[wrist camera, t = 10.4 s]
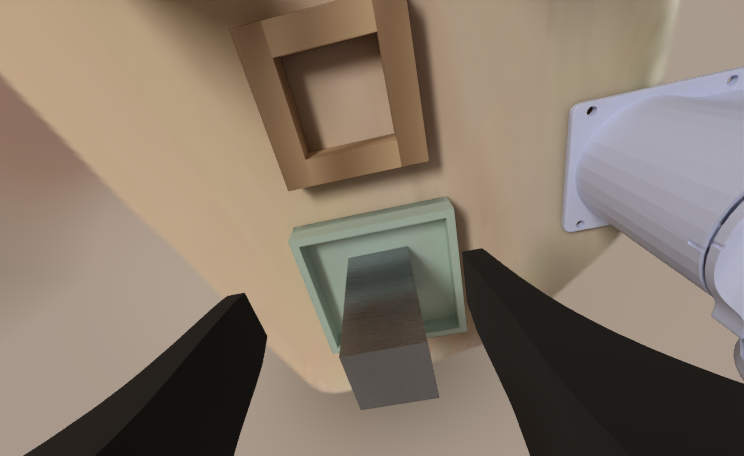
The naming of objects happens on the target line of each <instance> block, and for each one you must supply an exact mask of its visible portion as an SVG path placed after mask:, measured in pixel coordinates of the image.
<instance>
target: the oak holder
mask: <svg viewBox="0 0 744 456" xmlns="http://www.w3.org/2000/svg"><path fill="white" fill-rule="evenodd" d="M229 31H230V34H231V36H232V39H233V42H234V44H235V47H236V50H237V53H238V55H239V58H240V61H241V64H242V66H243V69H244V72H245V74H246V77H247V80H248V83H249V85H250V88H251V91H252V93H253V96H254V99H255V102H256V104H257V107H258V110H259V113H260V115H261V118H262V121H263V123H264V126H265V129H266V132H267V134H268V137H269V140H270V142H271V145H272V148H273V151H274V153H275V156H276V159H277V161H278V164H279V167H280V170H281V172H282V175H283V178H284V181H285V183H286V186H287V189H288V191H292V190H296V189H301V188H306V187H310V186H315V185H320V184H324V183H329V182H334V181H338V180H343V179H348V178H352V177H357V176H362V175H366V174H371V173H376V172H380V171H385V170H390V169H394V168H399V167H404V166H408V165H413V164H418V163H422V162H427V161H429V157H428V150H427V143H426V136H425V128H424V121H423V114H422V107H421V99H420V92H419V85H418V78H417V70H416V63H415V56H414V49H413V41H412V34H411V27H410V20H409V12H408V5H407V0H337V1H333V2H329V3H325V4H322V5H318V6H314V7H310V8H307V9H303V10H299V11H295V12H292V13H288V14H284V15H280V16H277V17H273V18H269V19H265V20H262V21H258V22H254V23H250V24H247V25H243V26H239V27H235V28H231V29H229ZM374 33H377V39H378V44H379V50H380V55H381V61H382V66H383V72H384V77H385V83H386V88H387V94H388V99H389V105H390V110H391V116H392V121H393V127H394V132H395V134H391V135H386V136H382V137H377V138H373V139H368V140H364V141H359V142H355V143H350V144H346V145H342V146H337V147H333V148H328V149H324V150H319V151H315V152H310V151H309V148H308V145H307V142H306V138H305V135H304V132H303V129H302V126H301V123H300V119H299V116H298V113H297V110H296V107H295V103H294V100H293V97H292V94H291V91H290V88H289V84H288V81H287V78H286V75H285V72H284V68H283V65H282V62H281V59H280V57H284V56H288V55H292V54H295V53H299V52H303V51H307V50H311V49H315V48H319V47H323V46H327V45H331V44H335V43H339V42H343V41H347V40H351V39H354V38H358V37H362V36H366V35H370V34H374Z"/></svg>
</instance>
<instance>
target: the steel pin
mask: <svg viewBox="0 0 744 456" xmlns="http://www.w3.org/2000/svg"><path fill="white" fill-rule="evenodd" d="M339 358H340V360H341V363H342V365H343V368H344V370H345V373H346V375H347V377H348V380H349V382H350V385H351V387H352V390H353V392H354V394H355V397H356V399H357V401H358V404H359V407H360V409H361V410H364V409H371V408H377V407H384V406H390V405H396V404H403V403H409V402H415V401H422V400H428V399H435V398H439V394H438V390H437V384H436V380H435V375H434V371H433V365H432V361H431V356H430V351H429V346H428V341H427V337H426V332H425V327H424V322H423V318H422V313H421V308H420V303H419V298H418V294H417V289H416V284H415V280H414V275H413V270H412V266H411V261H410V256H409V252H408V247H407V246H405V247H400V248H395V249H390V250H385V251H380V252H375V253H370V254H366V255H361V256H356V257H351V258H348V266H347V277H346V288H345V299H344V310H343V321H342V333H341V344H340V355H339Z"/></svg>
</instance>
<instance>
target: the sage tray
mask: <svg viewBox="0 0 744 456" xmlns="http://www.w3.org/2000/svg"><path fill="white" fill-rule="evenodd" d="M288 243H289V245H290V248H291V250H292V253H293V255H294V258H295V260H296V263H297V265H298V268H299V270H300V273H301V275H302V278H303V280H304V283H305V285H306V288H307V290H308V293H309V295H310V298H311V300H312V303H313V305H314V308H315V310H316V313H317V315H318V318H319V320H320V323H321V325H322V328H323V330H324V333H325V335H326V338H327V340H328V343H329V345H330V348H331V350H332V353H333V354H335V353H340V344H341V333H342V321H343V310H344V299H345V288H346V277H347V266H348V258H351V257H356V256H361V255H366V254H370V253H375V252H380V251H385V250H390V249H395V248H400V247H405V246H407V247H408V252H409V256H410V261H411V266H412V270H413V275H414V280H415V284H416V289H417V294H418V298H419V303H420V308H421V313H422V318H423V322H424V327H425V332H426V337H427V338H432V337H438V336H444V335H450V334H456V333H462V332H467V324H466V315H465V306H464V297H463V287H462V278H461V269H460V260H459V250H458V241H457V232H456V222H455V213H454V208H453V206H452V204H451V202H450V201H449V199H448V197H442V198H437V199H432V200H427V201H422V202H417V203H412V204H407V205H402V206H398V207H393V208H388V209H383V210H378V211H373V212H368V213H363V214H358V215H353V216H348V217H344V218H339V219H334V220H329V221H324V222H319V223H314V224H309V225H304V226H299V227H294V229H293V231H292V234H291V236H290V239H289V241H288Z"/></svg>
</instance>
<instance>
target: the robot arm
mask: <svg viewBox="0 0 744 456" xmlns="http://www.w3.org/2000/svg"><path fill="white" fill-rule="evenodd" d="M730 77H731V79H730V82H728V83H727V81H728V79H729V78H730ZM590 107H592V108H593V109H592V112H591V113H590V114H588V115H587V110H588V109H589V108H590ZM579 221H581V222H580V223H579V224H578V225H576V224H577V223H578V222H579ZM561 225H562V228H563V229H564V230H565V231H567V232H574V231H580V230H585V229H590V228H596V227H601V226H606V225H612V226H613V227H615V228H616V229H618V230H619V231H621V232H622V233H624V234H625V235H626V236H628V237H629V238H631V239H632V240H633V241H635V242H636V243H637V244H639V245H640V246H642V247H643V248H645V249H646V250H647V251H649V252H650V253H652V254H653V255H655V256H656V257H657V258H659V259H660V260H661V261H663V262H664V263H666V264H667V265H669V266H670V267H671V268H673V269H674V270H676V271H677V272H678V273H680V274H681V275H683V276H684V277H685V278H687V279H688V280H690V281H691V282H692V283H694V284H695V285H697V286H698V287H700V288H701V289H702V290H704V291H705V292H707V293H708V294H709V295H711V296H712V297H714V300H715V307H714V310H713V312H712V317H713V318H715V319H716V320H717V321H718V322H720V323H721V324H722V325H724V326H725V327H726V328H728V329H729V330H730V331H731V332H733V333H734V334H735V335H737V336H738V337H739V340H738V342H737V343H736V345H735V349H734V360H735V365H736V367H737V370H738V372H739V374H740V376H741V377H742V379H743V380H744V66H743V67H739V68H734V69H730V70H725V71H721V72H716V73H712V74H707V75H703V76H698V77H694V78H689V79H685V80H680V81H676V82H671V83H667V84H662V85H658V86H653V87H649V88H644V89H640V90H635V91H630V92H626V93H621V94H617V95H612V96H608V97H603V98H599V99H594V100H590V101H585V102H581V103H578V104H575V105H574V106H573V107H572V108H571V110H570V113H569V123H568V138H567V152H566V167H565V181H564V196H563V210H562V224H561ZM462 255H463V265H464V275H465V285H466V295H467V302H468V306H469V309H470V312H471V315H472V318H473V321H474V324H475V327H476V330H477V332H478V334H479V336H480V338H481V341H482V343H483V345H484V347H485V349H486V351H487V354H488V356H489V358H490V360H491V362H492V364H493V366H494V368H495V370H496V373H497V375H498V377H499V379H500V381H501V383H502V385H503V388H504V390H505V392H506V394H507V396H508V398H509V401H510V403H511V405H512V408H513V410H514V412H515V415H516V418H517V420H518V423H519V426H520V429H521V432H522V434H523V437H524V440H525V443H526V445H527V448H528V451H529V453H530V456H744V384H743V383H740V382H737V381H734V380H731V379H729V378H725V377H723V376H720V375H718V374H715V373H712V372H709V371H707V370H704V369H702V368H699V367H696V366H694V365H691V364H688V363H686V362H683V361H681V360H678V359H675V358H673V357H670V356H668V355H666V354H663V353H661V352H658V351H656V350H654V349H651V348H649V347H646V346H644V345H642V344H640V343H638V342H635V341H633V340H631V339H629V338H627V337H624V336H622V335H620V334H617V333H615V332H613V331H611V330H609V329H607V328H605V327H603V326H601V325H599V324H597V323H595V322H594V321H592V320H590V319H588V318H586V317H584V316H582V315H580V314H578V313H576V312H574V311H573V310H571V309H569V308H567V307H565V306H564V305H562V304H561V303H559V302H557V301H556V300H554V299H552V298H551V297H549V296H548V295H546V294H544V293H543V292H541V291H540V290H538V289H537V288H535V287H534V286H532V285H531V284H530V283H528V282H527V281H525V280H524V279H522V278H521V277H519V276H518V275H517V274H515V273H514V272H513V271H511V270H510V269H509V268H507V267H506V266H505V265H503V264H502V263H501V262H499V261H498V260H497V259H496V258H494V257H493V256H492V255H490V254H489V253H488V252H486V251H485V250H484V249H482V248H481V249H475V250H470V251H465V252H462ZM266 341H267V335H266V333H265V331H264V329H263V327H262V325H261V323H260V321H259V320H258V318H257V316H256V314H255V312H254V310H253V308H252V306H251V304H250V302H249V300H248V298H247V296H246V295H245V293H241V294H235V295H230V296H227V297H226V298H224V299H223V300H222V301H220V302H219V303H218V304H217V305H216V306H214V307H213V308H212V309H211V310H210V311H209V312H208V313H207V314H206V315H204V316H203V317H202V318H201V319H200V320H199V321H198V322H197V323H196V324H195V325H194V326H192V327H191V328H190V329H189V330H188V331H187V332H186V333H185V334H184V335H182V336H181V337H180V338H179V339H178V340H177V341H176V342H175V343H174V344H173V345H171V346H170V347H169V348H168V349H167V350H166V351H165V352H164V353H162V354H161V355H160V356H159V357H158V358H156V359H155V360H154V361H153V362H152V363H151V364H150V365H148V366H147V367H146V368H145V369H144V370H143V371H141V372H140V373H139V374H138V375H136V376H135V377H134V378H133V379H132V380H130V381H129V382H128V383H127V384H125V385H124V386H123V387H122V388H120V389H119V390H118V391H116V392H115V393H114V394H112V395H111V396H110V397H108V398H107V399H106V400H104V401H103V402H102V403H100V404H99V405H98V406H96V407H95V408H94V409H92V410H91V411H89V412H88V413H86V414H85V415H83V416H82V417H81V418H79V419H78V420H77V421H75V422H73V423H72V424H70V425H69V426H67V427H66V428H65V429H63V430H62V431H60V432H59V433H57V434H56V435H55V436H53V437H52V438H50V439H49V440H47V441H46V442H44V443H43V444H41V445H39V446H38V447H36V448H35V449H33V450H32V451H30V452H28V453H27V454H25V455H24V456H234V453H235V449H236V446H237V442H238V439H239V436H240V432H241V429H242V426H243V423H244V420H245V417H246V414H247V411H248V408H249V405H250V401H251V398H252V396H253V393H254V390H255V387H256V383H257V380H258V377H259V374H260V371H261V367H262V363H263V358H264V353H265V347H266Z"/></svg>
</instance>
